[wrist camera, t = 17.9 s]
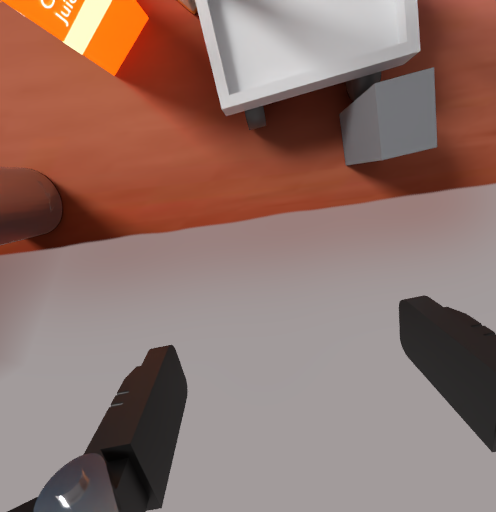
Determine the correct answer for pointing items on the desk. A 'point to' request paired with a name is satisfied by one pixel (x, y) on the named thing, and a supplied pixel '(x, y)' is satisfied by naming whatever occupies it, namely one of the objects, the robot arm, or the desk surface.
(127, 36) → the orange juice
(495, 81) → the desk surface
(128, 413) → the robot arm
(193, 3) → the supplement box
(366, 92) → the block
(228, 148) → the desk surface
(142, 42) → the desk surface
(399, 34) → the trolley
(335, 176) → the desk surface
